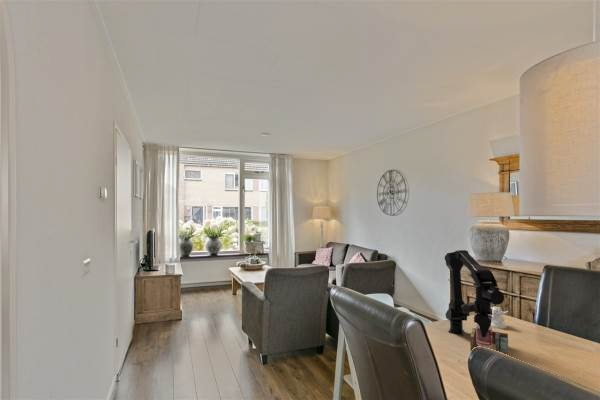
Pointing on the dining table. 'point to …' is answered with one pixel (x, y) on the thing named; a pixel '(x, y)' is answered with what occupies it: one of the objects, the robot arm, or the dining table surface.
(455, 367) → the dining table surface
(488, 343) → the pill bottle
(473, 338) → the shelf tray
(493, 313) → the figurine
